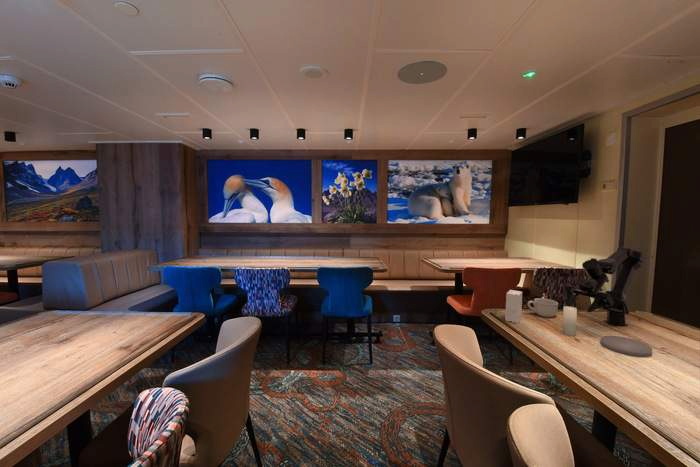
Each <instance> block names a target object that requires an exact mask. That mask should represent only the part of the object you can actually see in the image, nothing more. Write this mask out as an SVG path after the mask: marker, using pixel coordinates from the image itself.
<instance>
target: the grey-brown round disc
mask: <svg viewBox="0 0 700 467" xmlns="http://www.w3.org/2000/svg"><path fill="white" fill-rule="evenodd" d="M599 341H600V343H599V344H600V345H601V346H602V347H604V348H605V349H607V350H610V351H611V352H614V353H618V354H619V355H620V354H621V355H624V356H629V357H635V358H636V357H637V358H649V357H652V356H653V348H652V346H650V345H649V344H647V343H644V342H642V341H639V340H636V339H633V338H629V337H625V336H619V335H603V336H601V337H600V340H599Z"/></svg>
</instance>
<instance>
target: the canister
mask: <svg viewBox="0 0 700 467" xmlns="http://www.w3.org/2000/svg"><path fill="white" fill-rule="evenodd" d="M562 310H563V312H562V313H563V314H562V315H563V316H562V334H563V335H566V336H568V337H569V336H570V337H576V336H577V316H578V315H577V314H578V308H577V307H574V306H571V305H569V306H566V305H565V306H563V308H562Z"/></svg>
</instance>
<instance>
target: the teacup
mask: <svg viewBox="0 0 700 467" xmlns="http://www.w3.org/2000/svg"><path fill="white" fill-rule="evenodd" d="M531 303H532V304H533V307H532V306H531ZM526 304H527V307H528V308H529V309H531V310H532V311H533V312H535V313H536V315H538V316H540V317H543V318H553V317H554V316H556V315H557V314H558V307H559V303H558V301H555V300H554V299H550V298H549V299H548V298H545V297H543V298H542V297H540V298H539V297H538V298H537V297H536V298H533V300H528V301H527V303H526Z"/></svg>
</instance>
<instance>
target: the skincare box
mask: <svg viewBox="0 0 700 467" xmlns="http://www.w3.org/2000/svg"><path fill="white" fill-rule="evenodd" d="M505 296H506V300H505V315H504V316H505V322H509V321H512V322H511V323H513V322H517V323H516V324H518V323H519V322H520V321H521V320H522V311H523V310H522V309H523V291H520V290H514V289H509V290H508V291H507V292H506V294H505ZM520 319H521V320H520Z"/></svg>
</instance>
